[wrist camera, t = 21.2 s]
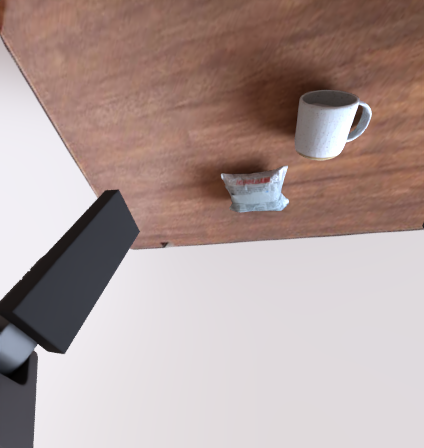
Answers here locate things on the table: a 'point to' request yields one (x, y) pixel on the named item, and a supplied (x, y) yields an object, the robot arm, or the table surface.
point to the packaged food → (256, 190)
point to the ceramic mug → (327, 123)
